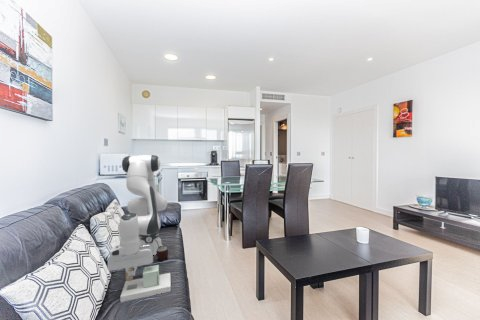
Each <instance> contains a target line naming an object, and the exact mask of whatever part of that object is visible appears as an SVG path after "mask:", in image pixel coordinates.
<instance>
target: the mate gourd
mask: <svg viewBox="0 0 480 320" xmlns="http://www.w3.org/2000/svg"><path fill="white" fill-rule="evenodd" d="M153 240H155V239H153ZM155 241H156V242H157V244H158V241H157V240H155ZM156 253H157V255H156V256H157V261H160V263H161V262H163V261H162V260H163V259H166V260H168V255H169V250H168V247H167V246H166V245H163V246H159V244H158V248H157V251H156Z"/></svg>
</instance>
